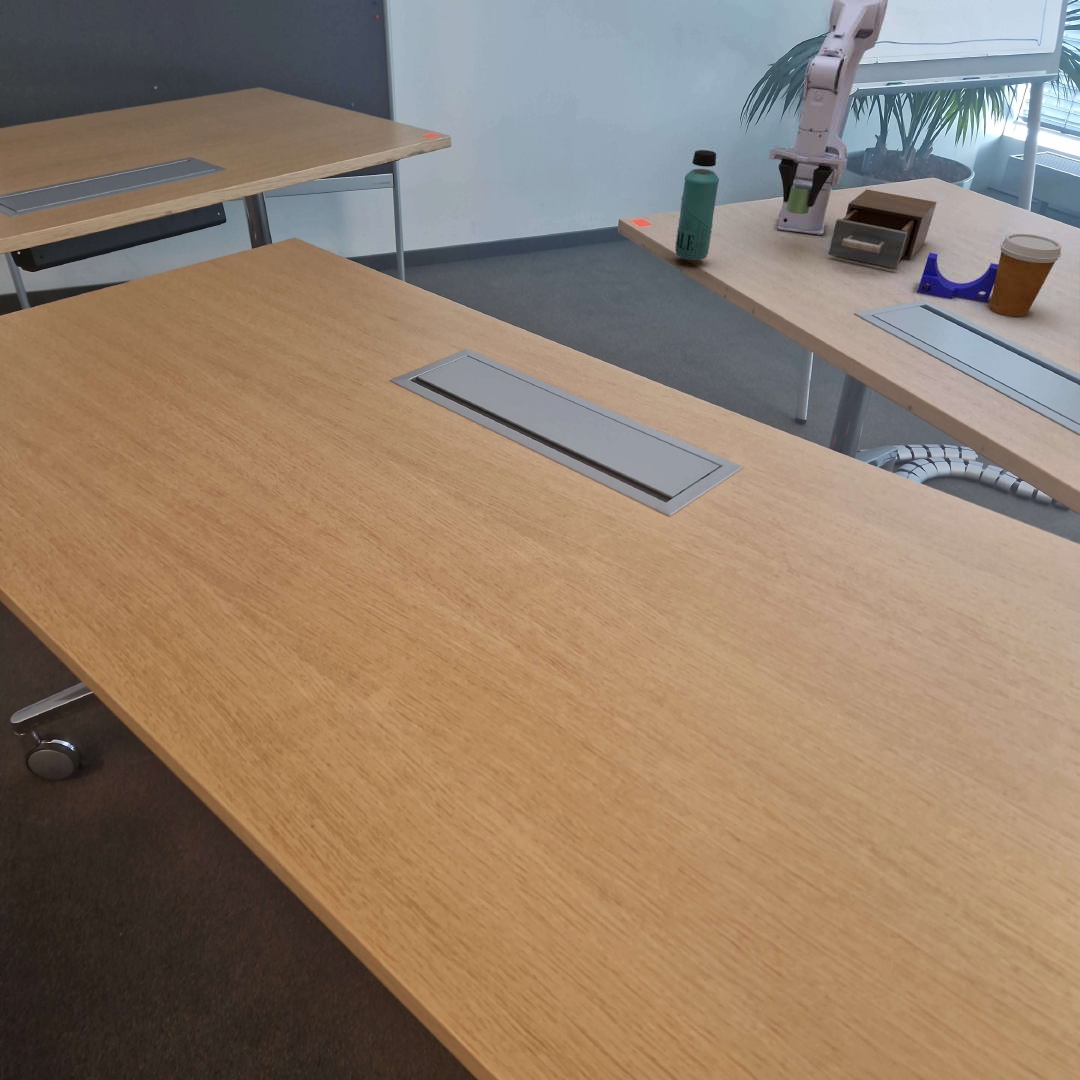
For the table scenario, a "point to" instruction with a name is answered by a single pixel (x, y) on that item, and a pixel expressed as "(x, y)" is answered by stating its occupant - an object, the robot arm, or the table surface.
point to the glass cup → (798, 198)
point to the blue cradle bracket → (949, 289)
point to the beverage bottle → (697, 208)
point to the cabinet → (899, 213)
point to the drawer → (872, 237)
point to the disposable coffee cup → (1022, 272)
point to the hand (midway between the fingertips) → (798, 203)
